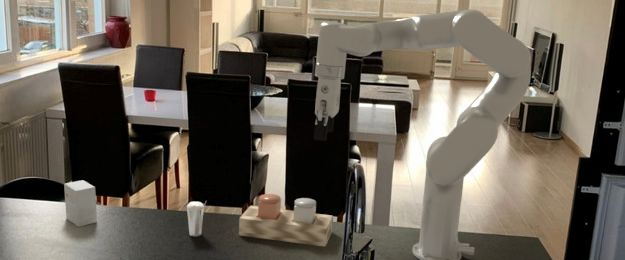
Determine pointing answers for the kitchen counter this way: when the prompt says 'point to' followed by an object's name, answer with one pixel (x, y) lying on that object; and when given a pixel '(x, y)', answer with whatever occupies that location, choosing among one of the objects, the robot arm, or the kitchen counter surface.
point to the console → (286, 227)
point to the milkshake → (195, 218)
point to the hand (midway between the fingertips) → (323, 135)
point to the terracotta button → (269, 206)
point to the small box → (80, 203)
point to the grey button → (304, 210)
